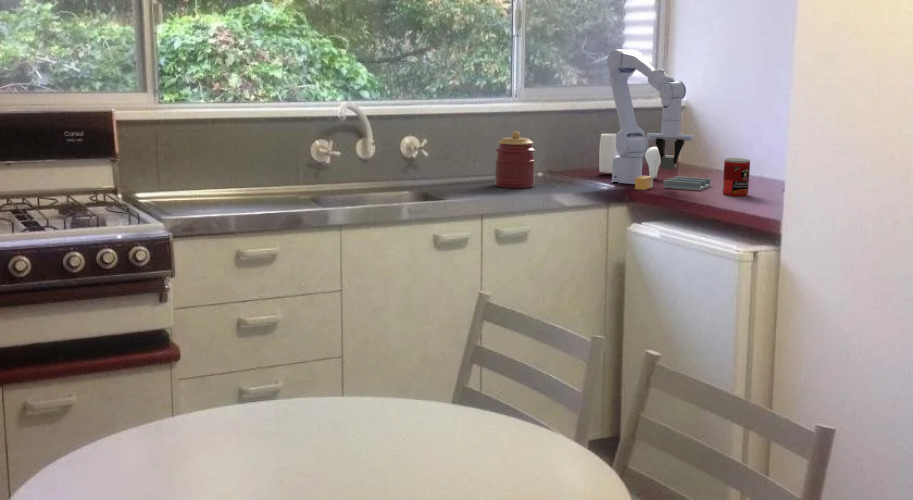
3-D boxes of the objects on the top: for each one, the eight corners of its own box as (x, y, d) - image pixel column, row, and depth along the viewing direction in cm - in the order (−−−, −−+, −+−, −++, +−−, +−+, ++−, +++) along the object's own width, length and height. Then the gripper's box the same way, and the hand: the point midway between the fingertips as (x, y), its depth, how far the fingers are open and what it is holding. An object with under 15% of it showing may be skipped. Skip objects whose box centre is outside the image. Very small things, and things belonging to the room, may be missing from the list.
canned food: (734, 197, 331) (736, 161, 329) (716, 193, 338) (718, 158, 336) (753, 195, 335) (755, 160, 333) (735, 192, 342) (738, 157, 340)
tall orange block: (645, 190, 345) (645, 178, 344) (634, 189, 346) (635, 177, 346) (652, 187, 351) (653, 176, 351) (642, 186, 353) (642, 175, 352)
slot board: (663, 187, 350) (663, 180, 350) (674, 183, 361) (674, 176, 361) (699, 190, 345) (700, 183, 344) (710, 186, 356) (710, 178, 355)
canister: (513, 182, 358) (514, 128, 355) (543, 186, 349) (544, 131, 346) (486, 185, 349) (487, 130, 346) (515, 189, 340) (517, 133, 337)
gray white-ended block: (671, 169, 341) (672, 158, 341) (661, 168, 342) (661, 157, 342) (675, 167, 348) (676, 155, 347) (665, 166, 349) (665, 155, 349)
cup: (624, 176, 378) (625, 135, 375) (599, 176, 378) (601, 135, 375) (620, 173, 386) (622, 133, 383) (597, 173, 386) (598, 133, 383)
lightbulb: (664, 178, 374) (666, 146, 372) (658, 180, 369) (659, 148, 367) (648, 177, 377) (649, 145, 375) (641, 178, 372) (642, 146, 370)
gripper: (645, 120, 341) (643, 163, 344) (692, 122, 336) (689, 165, 339) (650, 118, 348) (647, 160, 350) (695, 120, 343) (693, 163, 345)
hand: (668, 163), depth 345 cm, fingers closed on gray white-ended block, 3 cm apart
